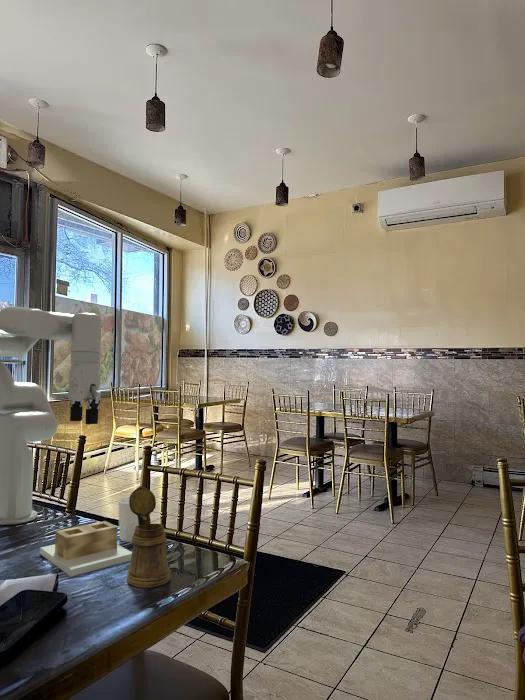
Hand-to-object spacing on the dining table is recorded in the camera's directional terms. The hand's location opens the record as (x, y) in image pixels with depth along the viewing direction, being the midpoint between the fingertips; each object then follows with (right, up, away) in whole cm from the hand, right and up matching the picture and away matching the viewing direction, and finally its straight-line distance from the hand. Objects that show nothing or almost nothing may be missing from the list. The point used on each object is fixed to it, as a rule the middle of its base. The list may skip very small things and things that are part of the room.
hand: (83, 422), depth 135 cm
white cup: (+14, -31, -2) cm, 34 cm away
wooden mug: (+23, -30, -26) cm, 46 cm away
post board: (+6, -30, -16) cm, 34 cm away
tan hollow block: (+6, -28, -16) cm, 33 cm away
